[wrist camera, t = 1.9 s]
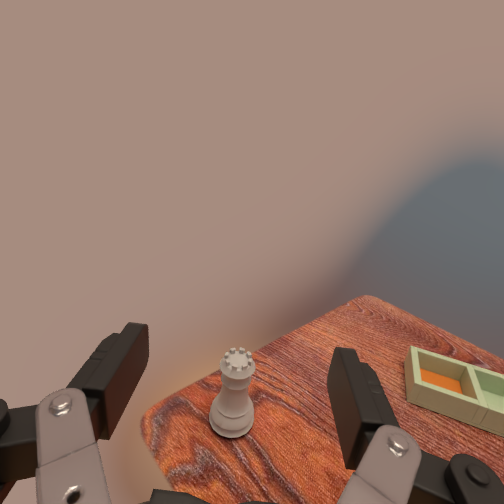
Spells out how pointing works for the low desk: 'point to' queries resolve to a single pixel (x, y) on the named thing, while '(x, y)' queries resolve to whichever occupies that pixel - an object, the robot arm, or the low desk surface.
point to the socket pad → (455, 389)
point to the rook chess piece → (233, 396)
